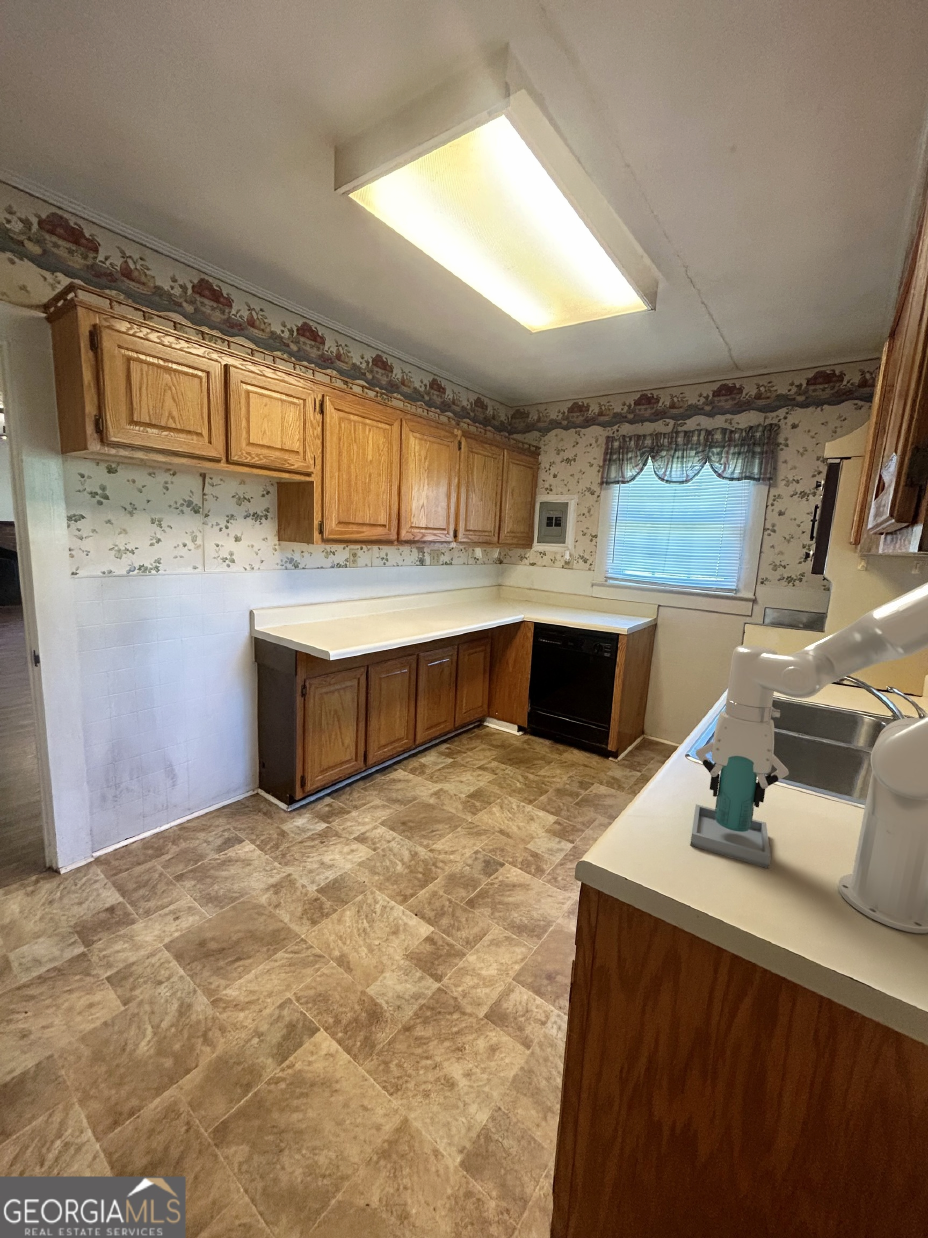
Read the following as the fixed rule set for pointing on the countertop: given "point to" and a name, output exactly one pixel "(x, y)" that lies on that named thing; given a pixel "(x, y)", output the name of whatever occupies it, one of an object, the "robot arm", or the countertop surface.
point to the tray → (730, 838)
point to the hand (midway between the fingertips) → (735, 798)
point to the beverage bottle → (736, 794)
